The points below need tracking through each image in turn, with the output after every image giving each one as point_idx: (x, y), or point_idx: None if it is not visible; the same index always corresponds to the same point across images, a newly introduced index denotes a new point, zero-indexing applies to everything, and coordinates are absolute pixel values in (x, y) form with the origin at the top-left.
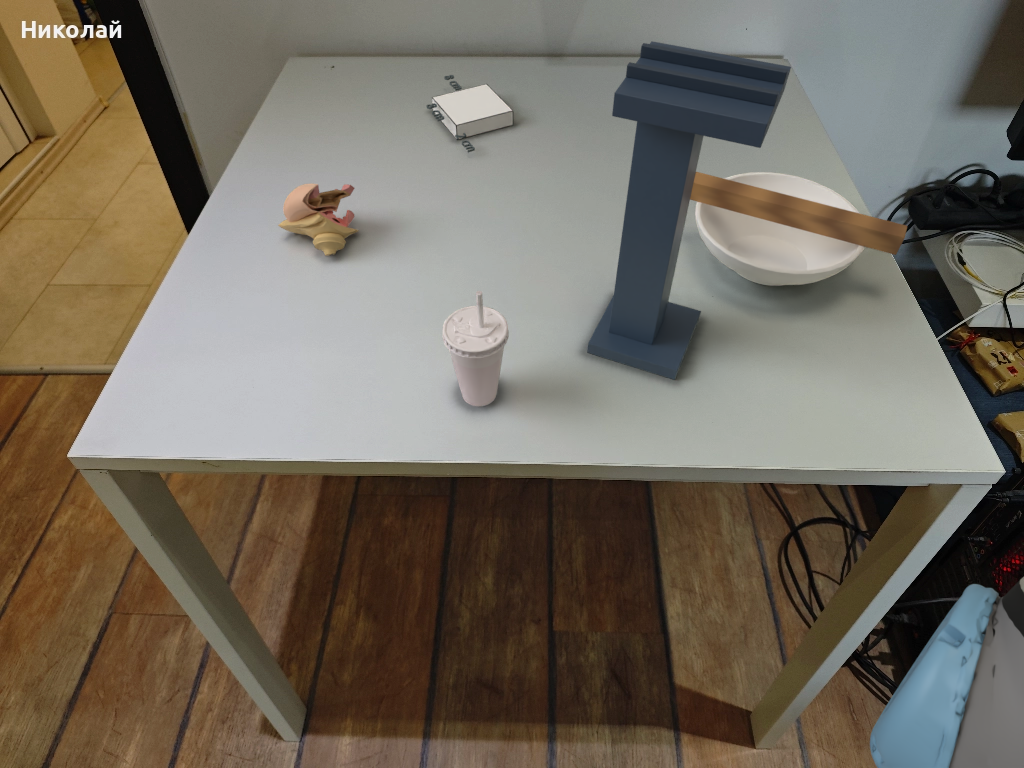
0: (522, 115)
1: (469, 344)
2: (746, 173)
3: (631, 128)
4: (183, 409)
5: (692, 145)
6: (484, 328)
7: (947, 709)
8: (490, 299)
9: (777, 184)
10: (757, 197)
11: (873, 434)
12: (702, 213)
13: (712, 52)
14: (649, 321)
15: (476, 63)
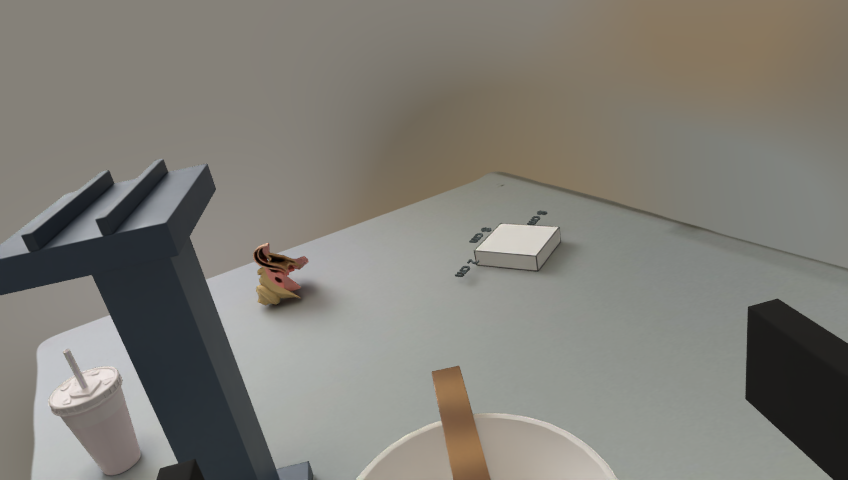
0: (561, 266)
1: (59, 394)
2: (558, 428)
3: (642, 323)
4: (80, 349)
5: (95, 281)
6: (80, 390)
7: None
8: (259, 398)
9: (594, 475)
10: (453, 455)
11: None
12: (443, 440)
13: (190, 186)
14: None
15: (605, 211)
